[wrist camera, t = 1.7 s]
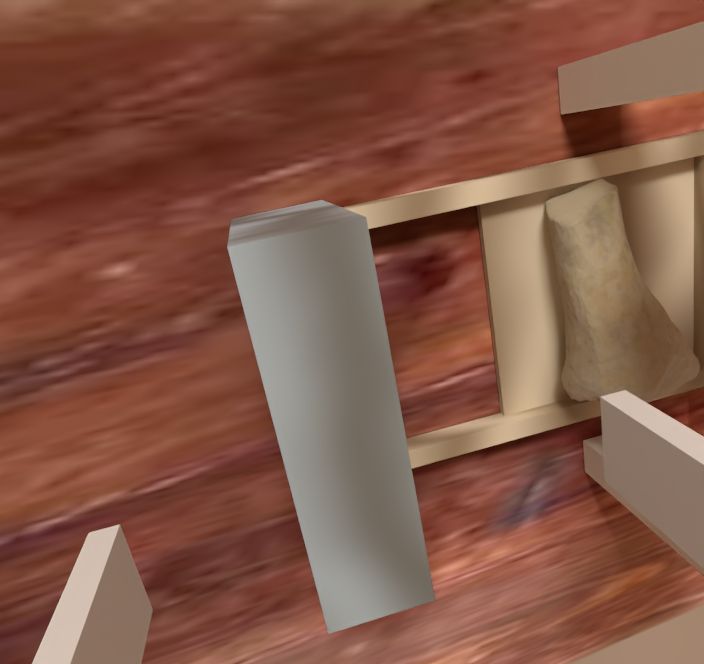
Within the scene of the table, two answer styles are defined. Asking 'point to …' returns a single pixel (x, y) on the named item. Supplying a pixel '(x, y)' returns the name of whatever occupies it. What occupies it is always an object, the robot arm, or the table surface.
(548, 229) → the rock display tray
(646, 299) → the stone
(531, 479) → the table surface
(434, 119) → the table surface
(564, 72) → the shelf
